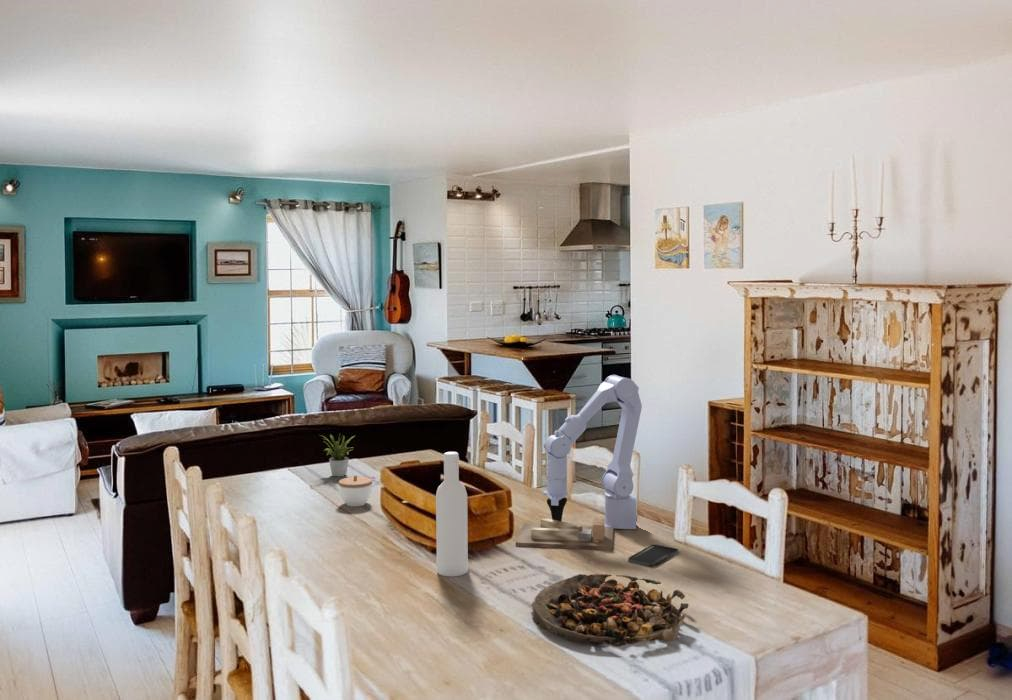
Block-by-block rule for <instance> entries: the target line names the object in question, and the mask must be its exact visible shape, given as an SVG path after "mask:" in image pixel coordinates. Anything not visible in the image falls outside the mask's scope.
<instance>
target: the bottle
mask: <svg viewBox="0 0 1012 700" xmlns="http://www.w3.org/2000/svg"><path fill="white" fill-rule="evenodd" d="M459 455H460V454H459V453H458V452H457V451H447V452H444V453H443V459H442V460H443V478H444V479H443V481H442V482H441V484H440V485H438V487H437V489H436V492H435V493H436V494H435V511H436V512H435V519H436V520H435V522H436V529H435V530H436V531H435V534H436V559H435V563H436V565H435V566H436V573H437V574H438V575H439V576H442V577H447V578H448V577H460V576H463V575H465V574H467V573H468V571H469V558H468V557H469V555H468V554H469V553H468V551H469V550H468V549H469V546H468V545H469V543H468V542H469V541H468V537H469V536H468V533H469V532H468V531H469V530H468V529H469V528H468V526H469V525H468V493H467V490H466V487H465V485H464V484H463V483H462V482H461V481H460V478H459V475H460V470H459V469H460V467H459V466H460V465H459V461H460V457H459Z"/></svg>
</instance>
